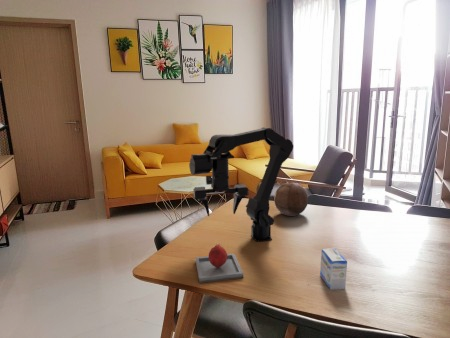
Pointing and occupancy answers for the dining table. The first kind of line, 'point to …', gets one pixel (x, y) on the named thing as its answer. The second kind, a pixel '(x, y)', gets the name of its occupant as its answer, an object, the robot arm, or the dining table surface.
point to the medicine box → (333, 268)
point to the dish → (218, 269)
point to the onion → (217, 256)
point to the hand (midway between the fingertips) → (221, 214)
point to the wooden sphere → (291, 199)
